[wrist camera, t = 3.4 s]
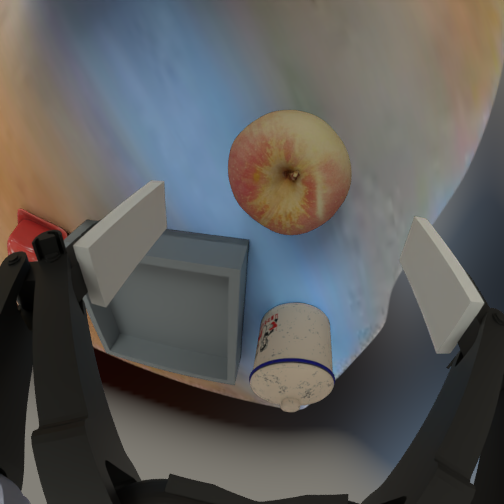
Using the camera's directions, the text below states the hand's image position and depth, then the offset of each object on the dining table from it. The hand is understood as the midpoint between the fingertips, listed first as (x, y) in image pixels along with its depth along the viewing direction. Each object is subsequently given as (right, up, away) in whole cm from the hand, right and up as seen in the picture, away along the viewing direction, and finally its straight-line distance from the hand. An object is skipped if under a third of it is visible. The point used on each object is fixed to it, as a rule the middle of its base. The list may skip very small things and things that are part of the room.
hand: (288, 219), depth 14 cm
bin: (-13, -7, +21) cm, 26 cm away
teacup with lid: (+4, -12, +22) cm, 25 cm away
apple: (+2, +7, +10) cm, 12 cm away
